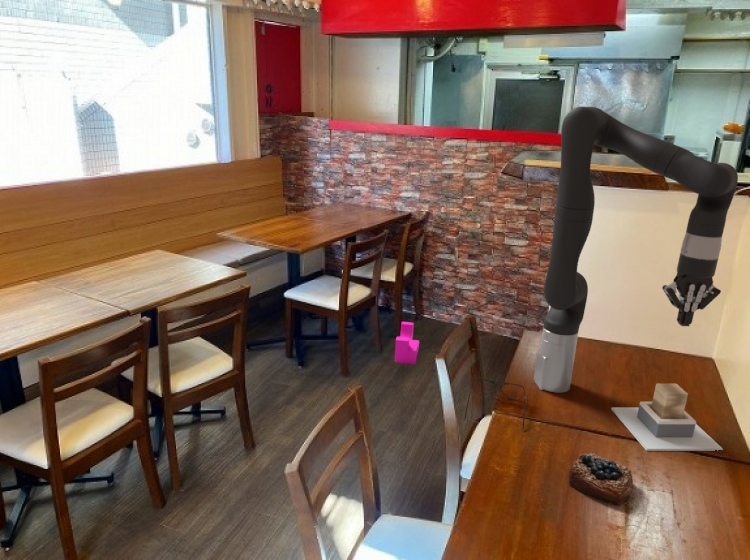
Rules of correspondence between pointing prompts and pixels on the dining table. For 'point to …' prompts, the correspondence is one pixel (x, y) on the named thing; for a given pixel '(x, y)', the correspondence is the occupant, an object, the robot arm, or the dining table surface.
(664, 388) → the maple block
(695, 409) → the dining table surface
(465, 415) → the glasses
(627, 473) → the pastry
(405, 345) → the toy block
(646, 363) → the dining table surface
